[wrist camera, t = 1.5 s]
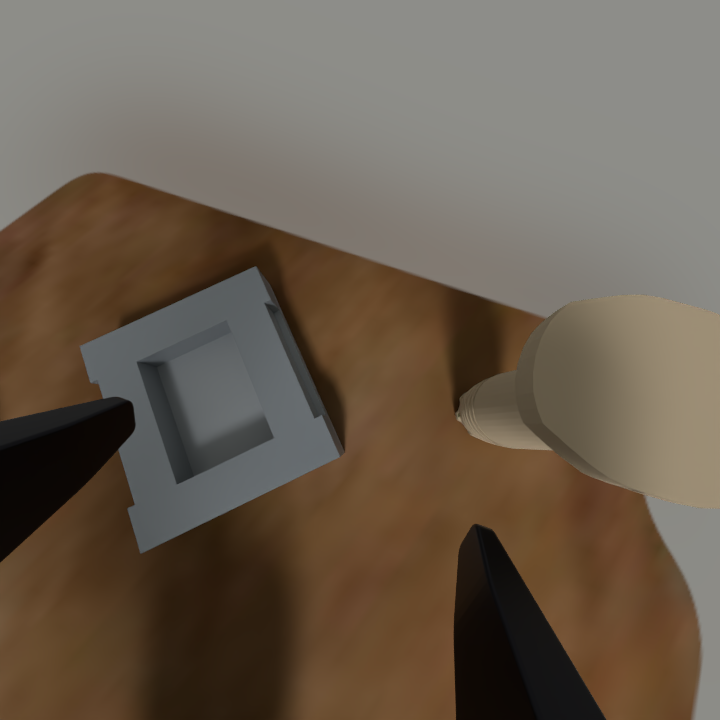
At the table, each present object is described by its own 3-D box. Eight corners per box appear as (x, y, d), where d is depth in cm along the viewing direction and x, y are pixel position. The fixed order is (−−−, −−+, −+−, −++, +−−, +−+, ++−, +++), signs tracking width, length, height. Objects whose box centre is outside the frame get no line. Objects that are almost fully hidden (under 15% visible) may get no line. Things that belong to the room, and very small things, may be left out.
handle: (442, 366, 23) (556, 269, 8) (531, 395, 22) (824, 341, 8) (423, 431, 22) (513, 447, 8) (514, 462, 22) (807, 546, 7)
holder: (344, 452, 22) (340, 456, 19) (172, 536, 22) (140, 553, 19) (270, 284, 25) (255, 266, 22) (115, 355, 25) (79, 346, 22)
